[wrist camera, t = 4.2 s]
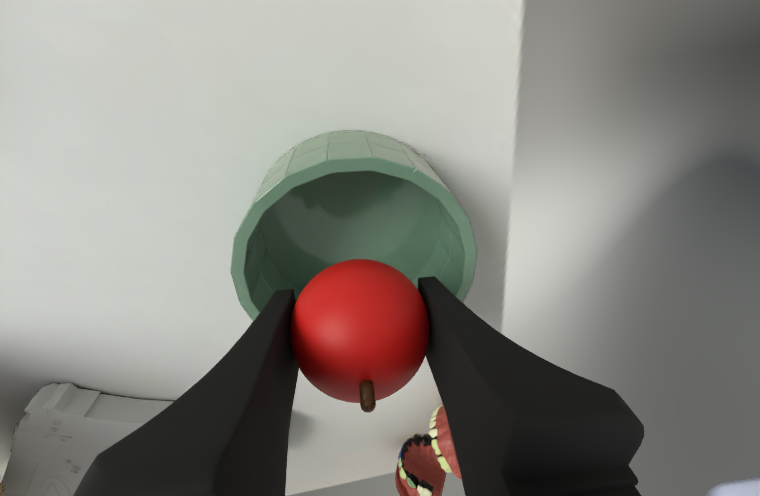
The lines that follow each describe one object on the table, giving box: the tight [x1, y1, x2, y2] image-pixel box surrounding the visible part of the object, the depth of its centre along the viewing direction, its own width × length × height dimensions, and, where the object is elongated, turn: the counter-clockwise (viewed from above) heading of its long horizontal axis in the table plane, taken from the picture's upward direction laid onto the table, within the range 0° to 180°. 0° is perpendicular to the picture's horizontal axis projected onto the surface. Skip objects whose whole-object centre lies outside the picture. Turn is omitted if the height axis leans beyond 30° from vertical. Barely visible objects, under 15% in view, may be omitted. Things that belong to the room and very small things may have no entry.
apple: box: [290, 259, 430, 412], centre depth 11 cm, size 5×5×5 cm
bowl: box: [231, 130, 477, 321], centre depth 16 cm, size 10×10×4 cm
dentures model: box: [395, 404, 462, 496], centre depth 25 cm, size 6×4×8 cm
